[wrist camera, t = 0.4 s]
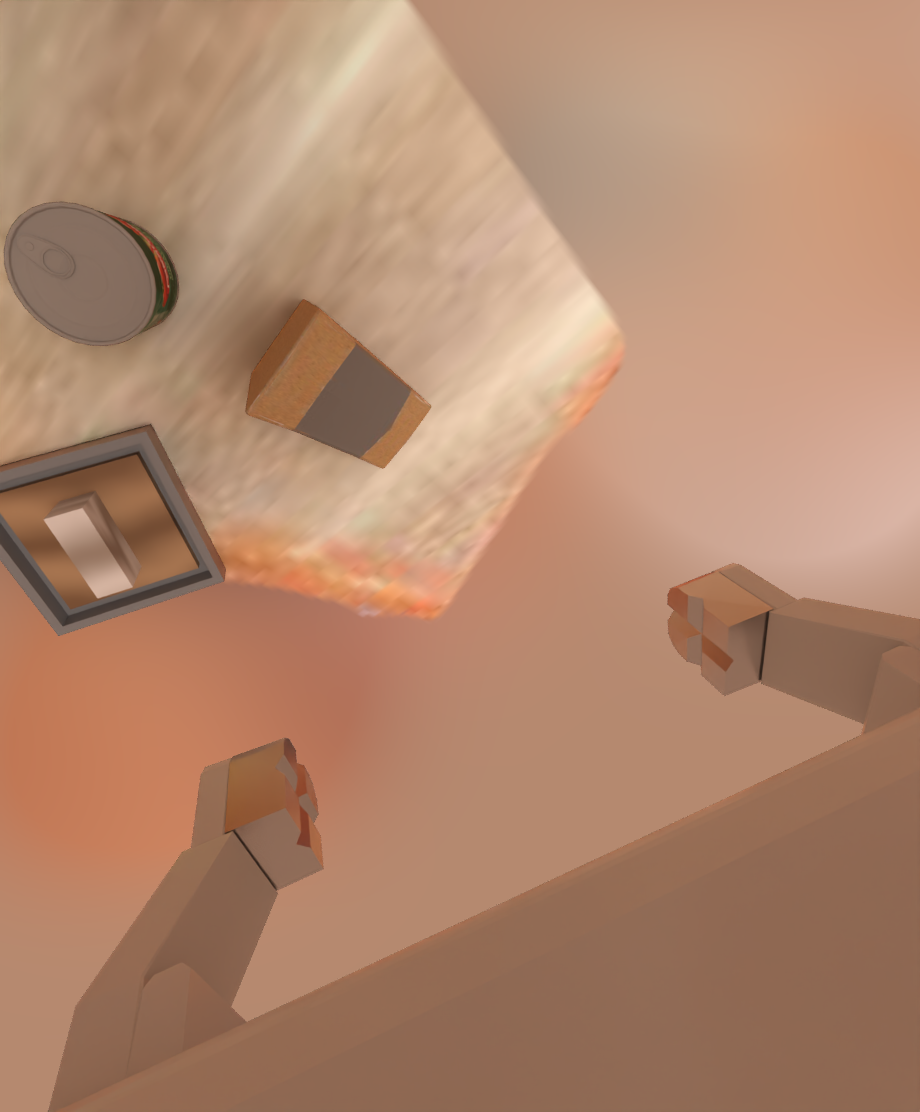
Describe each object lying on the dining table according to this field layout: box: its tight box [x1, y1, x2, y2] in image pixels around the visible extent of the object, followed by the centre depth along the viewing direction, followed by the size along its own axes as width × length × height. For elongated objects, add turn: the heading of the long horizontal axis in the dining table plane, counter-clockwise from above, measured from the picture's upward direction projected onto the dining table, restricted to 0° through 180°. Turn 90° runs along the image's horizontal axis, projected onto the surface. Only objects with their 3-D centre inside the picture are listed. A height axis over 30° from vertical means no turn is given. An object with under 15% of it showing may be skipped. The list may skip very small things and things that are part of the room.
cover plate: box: [0, 451, 200, 609], centre depth 48 cm, size 12×12×5 cm
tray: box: [0, 424, 226, 636], centre depth 49 cm, size 16×16×2 cm
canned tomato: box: [4, 202, 179, 346], centre depth 38 cm, size 8×8×11 cm
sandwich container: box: [246, 299, 431, 468], centre depth 45 cm, size 9×15×15 cm, turn 50°
